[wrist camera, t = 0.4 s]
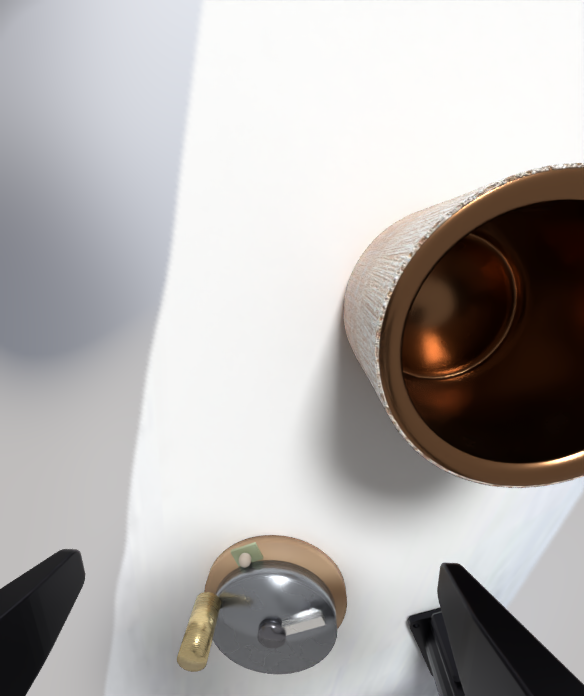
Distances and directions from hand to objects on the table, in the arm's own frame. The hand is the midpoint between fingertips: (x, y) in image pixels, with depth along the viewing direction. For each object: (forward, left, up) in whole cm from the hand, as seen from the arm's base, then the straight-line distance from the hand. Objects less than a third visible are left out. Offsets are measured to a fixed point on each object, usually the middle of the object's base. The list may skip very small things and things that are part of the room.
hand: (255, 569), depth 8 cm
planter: (+1, -10, -14) cm, 17 cm away
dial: (-16, +8, -12) cm, 22 cm away
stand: (-16, +8, -14) cm, 23 cm away
